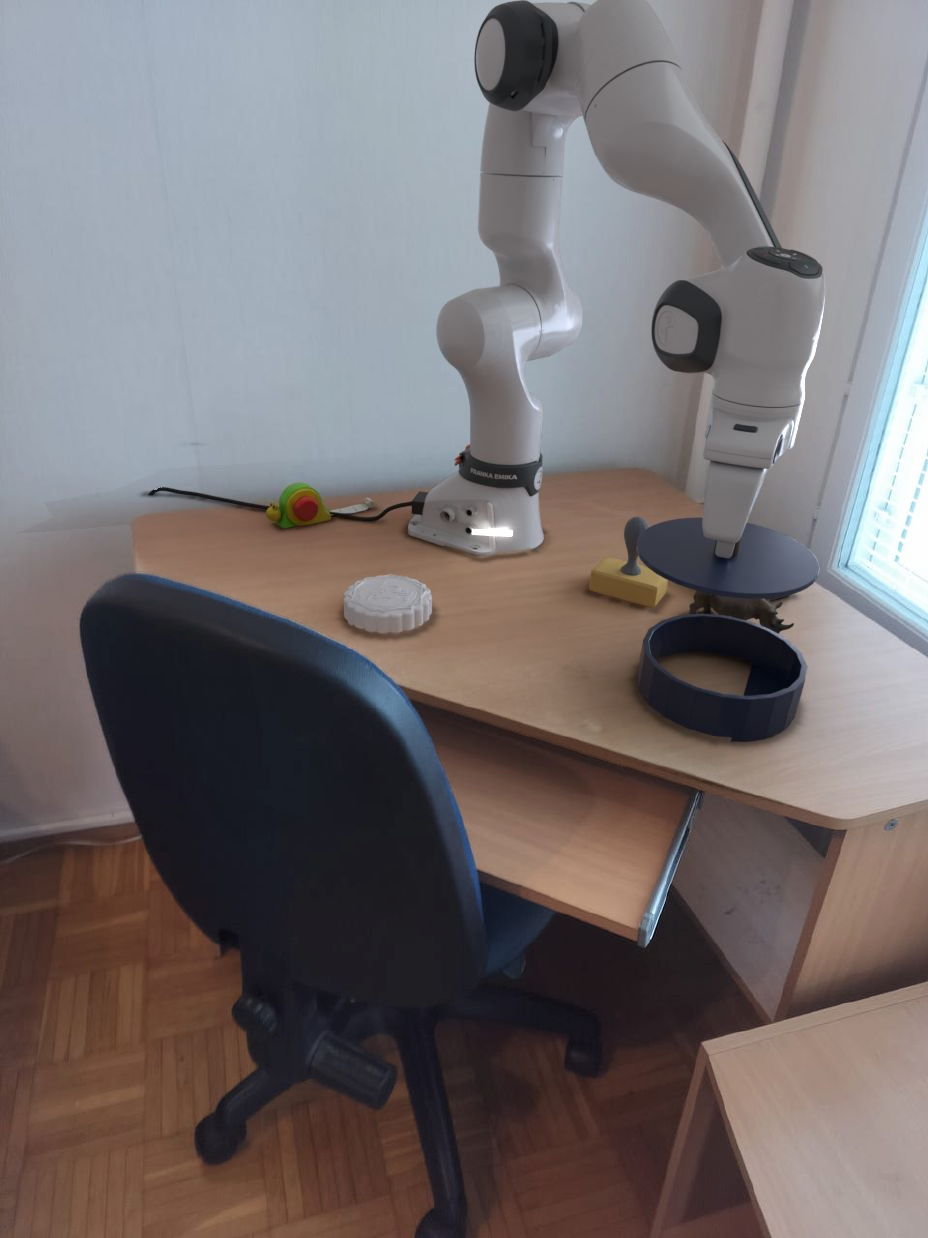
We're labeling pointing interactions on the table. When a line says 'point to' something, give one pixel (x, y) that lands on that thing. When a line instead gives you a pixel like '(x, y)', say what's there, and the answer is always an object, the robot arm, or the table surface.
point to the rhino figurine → (740, 609)
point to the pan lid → (728, 560)
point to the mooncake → (387, 604)
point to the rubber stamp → (629, 573)
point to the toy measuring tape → (306, 507)
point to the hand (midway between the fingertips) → (726, 548)
